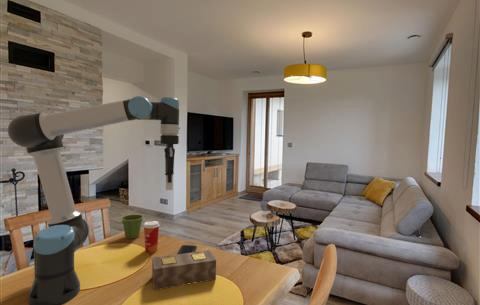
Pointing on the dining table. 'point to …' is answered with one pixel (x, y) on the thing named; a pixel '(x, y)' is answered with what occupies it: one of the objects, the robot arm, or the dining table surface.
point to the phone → (187, 249)
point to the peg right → (198, 256)
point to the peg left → (168, 261)
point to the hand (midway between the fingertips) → (169, 189)
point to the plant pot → (132, 225)
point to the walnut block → (183, 270)
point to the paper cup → (151, 236)
